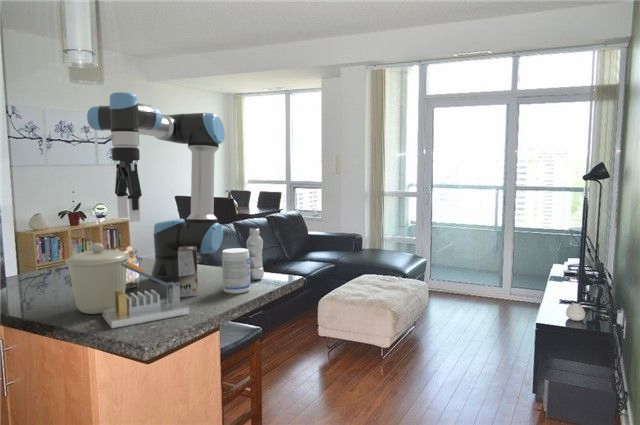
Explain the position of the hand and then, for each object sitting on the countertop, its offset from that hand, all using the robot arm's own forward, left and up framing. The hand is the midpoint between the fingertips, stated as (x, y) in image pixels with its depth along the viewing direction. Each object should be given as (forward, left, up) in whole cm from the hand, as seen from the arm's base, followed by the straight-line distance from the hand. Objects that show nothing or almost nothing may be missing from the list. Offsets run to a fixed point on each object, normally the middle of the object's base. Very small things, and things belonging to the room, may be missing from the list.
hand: (128, 219), depth 144 cm
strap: (+2, +4, -18) cm, 19 cm away
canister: (-12, -7, -29) cm, 32 cm away
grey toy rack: (+2, +3, -29) cm, 29 cm away
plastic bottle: (-18, +50, -29) cm, 61 cm away
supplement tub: (-7, +37, -29) cm, 48 cm away
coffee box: (-14, +22, -29) cm, 39 cm away
